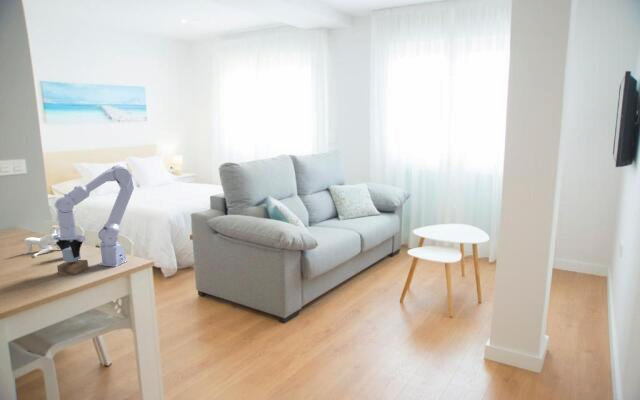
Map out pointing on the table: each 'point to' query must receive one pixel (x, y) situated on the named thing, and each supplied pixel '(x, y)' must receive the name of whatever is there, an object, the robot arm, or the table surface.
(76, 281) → the table surface
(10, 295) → the table surface
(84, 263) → the walnut block
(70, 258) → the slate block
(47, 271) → the table surface
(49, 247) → the person figurine
